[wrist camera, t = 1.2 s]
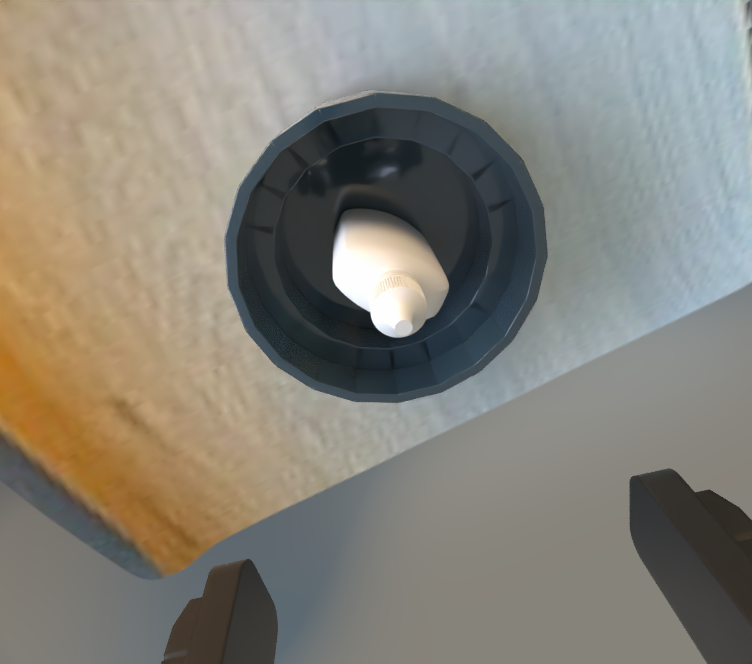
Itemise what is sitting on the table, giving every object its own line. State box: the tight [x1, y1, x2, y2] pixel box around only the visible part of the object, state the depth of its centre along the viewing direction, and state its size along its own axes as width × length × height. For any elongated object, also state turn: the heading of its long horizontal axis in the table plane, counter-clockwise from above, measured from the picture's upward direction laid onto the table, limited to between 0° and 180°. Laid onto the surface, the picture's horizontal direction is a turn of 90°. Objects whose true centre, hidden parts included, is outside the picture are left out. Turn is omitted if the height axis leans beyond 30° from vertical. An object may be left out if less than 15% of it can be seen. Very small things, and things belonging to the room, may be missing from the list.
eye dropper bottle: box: [333, 209, 449, 338], centre depth 25 cm, size 4×6×12 cm
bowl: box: [224, 90, 547, 403], centre depth 28 cm, size 16×16×6 cm
